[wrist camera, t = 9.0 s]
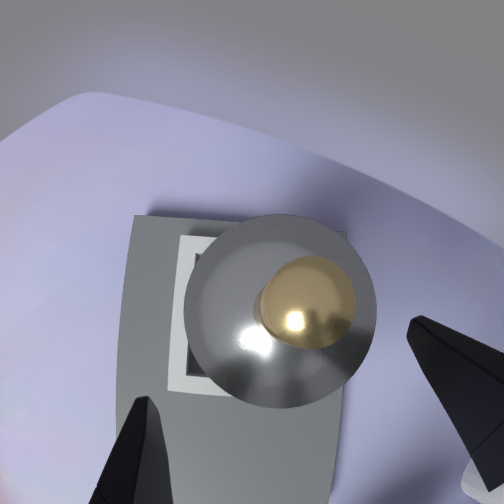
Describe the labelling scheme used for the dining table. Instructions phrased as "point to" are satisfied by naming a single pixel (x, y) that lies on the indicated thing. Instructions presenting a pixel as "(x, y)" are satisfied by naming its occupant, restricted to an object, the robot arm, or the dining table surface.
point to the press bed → (210, 388)
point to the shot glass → (479, 486)
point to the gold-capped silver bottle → (279, 311)
